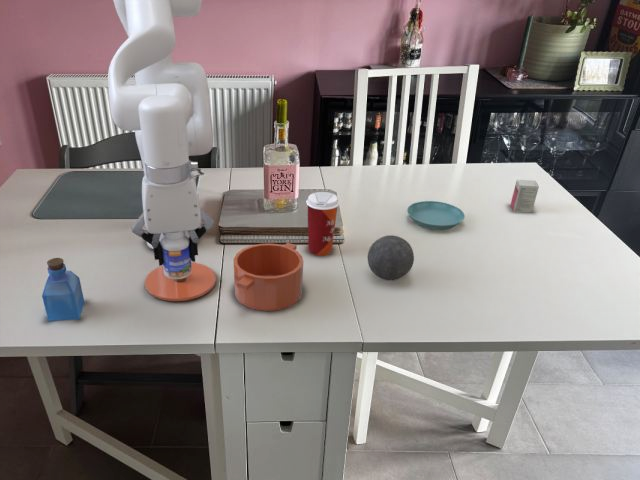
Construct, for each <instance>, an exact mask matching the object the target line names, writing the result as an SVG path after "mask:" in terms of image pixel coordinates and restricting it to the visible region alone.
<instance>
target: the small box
mask: <svg viewBox="0 0 640 480" xmlns="http://www.w3.org/2000/svg"><path fill="white" fill-rule="evenodd" d="M539 188H540V186H539V184H538V182H537V181H536V180H533V179H516V180H515V185H514V188H513V193H512V197H511V201H510V205H509V206H510V208H511V210H512V212H513V213H514V212H515V213H516V212H517V213H533V211H534V206H535V203H536V199H537V195H538V192H539Z"/></svg>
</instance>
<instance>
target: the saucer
mask: <svg viewBox="0 0 640 480" xmlns="http://www.w3.org/2000/svg"><path fill="white" fill-rule="evenodd" d="M406 212H407V214H408V217H409V218H410V219H411V220H412V221H413V222H414V223H415V224H416V225H418V226H419V227H422V228H424V229H427V230H431V231H446V230H450V229H452V228H454V227H457V226H458V225H460V224H461V223H462V222H463V221H464V220H465V217H466V216H465V215H466V214H465V213H464V212H463V210H462V209H460V208H459V207H458V206H455V205H453V204H450V203H447V202H443V201H435V200H424V201H417V202H414V203H412V204H410V205H409V206H408V207H407V209H406Z"/></svg>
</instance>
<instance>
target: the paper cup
mask: <svg viewBox="0 0 640 480" xmlns="http://www.w3.org/2000/svg"><path fill="white" fill-rule="evenodd" d="M305 203H306V205H307V240H308V241H307V243H308V246H307V247H308V252H309V253H310V254H312V255H313V256H316V257H317V256H319V257H324V256H328V255H330V254H331V253H332V250H333V243H334V236H335V230H336V229H335V228H336V221H337V216H338V215H337V214H338V207H339V206H340V201H339V198H338V196H337V195H336V194H334V193H332V192H328V191H317V192H312V193H310V194H309V195H308V197H307V199H306V201H305Z"/></svg>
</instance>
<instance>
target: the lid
mask: <svg viewBox="0 0 640 480" xmlns="http://www.w3.org/2000/svg"><path fill="white" fill-rule="evenodd" d="M216 279H217V278H216V274H215V272H214V271H213V269H211V268H210V267H209V266H207V265H205V264H202V263H198V262H193V261H191V274H190V275H189V276H187V277H186V278H183V279H170V278H168V277H166V276H165V274H164V270H163V265H161V266H158V267H156V268H154V269H153V270H152V271H150V273H148V274H147V275H146V278H145V280H144V286H145V289H146V291H147V292H148V293H149V294H150V295H151V296H152V297H154V298H157V299H160V300H164V301H169V302H182V301H183V302H184V301H190V300H194V299H197V298H199V297H202V296H204V295H206V294H208V293H209V292H210V291H211V290H212V289H213V288H214V286H215V284H216Z"/></svg>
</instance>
